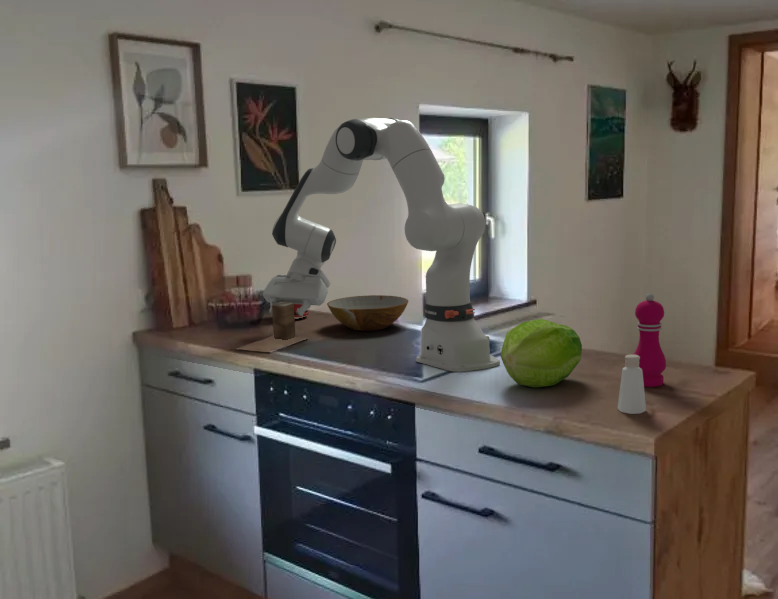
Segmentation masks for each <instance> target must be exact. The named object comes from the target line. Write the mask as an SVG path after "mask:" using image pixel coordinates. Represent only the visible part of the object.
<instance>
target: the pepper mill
mask: <svg viewBox="0 0 778 599" xmlns="http://www.w3.org/2000/svg"><path fill="white" fill-rule="evenodd" d="M634 314H635V315H634V316H635V318H636V319H637V320H638V322H637V324H636V325H637V327H636V328H637V330H638V331H639V339H638V343H637V344H638V345H637V347H636V349H635V351H634V353H633V355H638V356H639V357H640V359H639V367H640V368H641V369H642V372H643V382H644V388H646V387H647V388H654V387H655V388H656V387H657V388H658V387H660V386H662V385H663V384H664V374H662V373H663V372H664V371H665V370H666V367H667V360H666V356H665V354H664V352H663V349H662V347H661V344H660V331H661V330H662V325H663V324H662V323H661V321H662V320H663V318H664V316H665V309H664V306H663V305H662V304H661V302H658V301H656V300H655V296H654V294H653V293H647V294H646V296H645V300H643V301H641V302H639V303H638V304H637V306H636V307H635V310H634Z"/></svg>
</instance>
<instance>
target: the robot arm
mask: <svg viewBox="0 0 778 599" xmlns="http://www.w3.org/2000/svg"><path fill="white" fill-rule="evenodd" d="M385 159H386V160H387V161H388V163H389V165H390V168H391V170H392V171H393V173H394V175H395V177H396V180H397V182H398V184H399V186H400V188H401V189H402V192H403V194H404V197H405V200H406V205H407V211H408V212H407V213H408V214H407V218H406V221H405V223H404V235H405V238H406V241H407V242H408V244H409V245H410V246H411V247H413V248H414V249H416V250H421V251H426V252H435V255H434V259H433V261H432V263H431V265H430V266H429V268H428V269H427V270H426V273H425V294H426V296H425V298H426V302H425V304H424V316H425V317H424V318H426V320H425V322H424V324H423V326H422V327H421V330H420V331H421V332H420V347H419V348H420V350H419V351H420V352H419V355H417V356H416V359H415V361H416V362H417V363H421V364H425V365H428V366H431V367H435V368H438V369H441V370H445V371H449V372H470V371H478V370H484V369H490V368H494V367H496V366H499V365H500V364H501V360H500V359H498V358H496V357H495V356H493V355H492V354H491V350H490V347H491V346H490V340H491V339H490V336H489V335H488V334H485V333H484V332H483V330H482V329H481V327H480V326H479V325H478V323H477V321H476V319H475V318H474V317H475V313H476V312H474V311H475V308H474V307H473V304H472V302H471V301H470V300H471V298H470V296H471V294H470V289H471V288H470V285H471V284H470V283H471V281H470V280H471V278H470V275H471V267H472V262H473V259H474V255H475V251H476V248H477V245H478V242H479V241H480V239H481V238H482V236H483V235H484V234H485V230H486V217H485V216H484V214H483V212H482V211H481V209H479V208H478V207H477V206H474V205H470V204H468V203H462V202H459V203H458V202H457V203H450V204H448V203H447V202H446V200H445V197H444V194H443V186H444V184H445V180H446V179H445V174H444V172H443V170H442V169H441V167H440V164H439V162H438V161H437V158H436V157H435V155H434V153H433V151H432V148H431V147H430V145H429V143H428V142H427V140H426V139H425V138H424V136H423V135H422V133H421V132H420V131H419V129H418V128H417V127H416V125H415V124H414V123H413V122H412V121H409V120H407V119H406V120H404V119H403V120H401V119H399V118H398V119H397V118H393V117H388V118H383V117H365V118H359V119H357V118H353V119H350V120H347V121H344V122H343V123H341V124H340V125H339V126H338V127H337V128H335V130H334V131H333V133H332V135H331V136H330V138H329V140H328V142H327V144H326V147H325V149H324V151H323V154H322V158H321V159H320V162H319V163H318V164H317V165H316V166H315V167H312V168H308V169H307V170H306V171H305V173H303V175H302V177H301V178H300V180H299V182H298V183H297V185H296V186H295V188H294V190H293V193H292V194H291V196H290V198H289V200H288V201H287V203H286V205H285V207H284V209H283V211H282V213H280V215H279V216H278V218H277V219H276V221H274V224H273V227H272V232H271V233H272V234H271V235H272V237H273V239H274V241H275V242H276V244H277V245H279V246H282V247H286V248H290V249H292V250H294V251H297V253H296V257H295V258H294V260H293V261H292V263H291V265H290V267H289V270H288V272H287V274H285V275H282V274H277V275H276V276H274V277H272V278H271V279H270V281H269V282H268V284H267V285H266V287H265V288H264V290H263V292H262V296H263V298H264V299H265V301H266V302H267V303H269V304H270V308H269V311H268V312H269V314H270V315H272V304H275V303H279V302H291V303H293V304H302V306H301V307H300V308H297V311H296V315H297V316H303V314H304V312H305V311H306V310H308V311H309V309H310V308H311V306H321V305H323V304H324V303H325V301H326V298H327V296H328V292H329V287H330V285H331V282H330V280H329V278H328V276H327V275H326V274H325V273H324V271H323V270H321V269H322V267H323V265H324V264H325V262H327V261H329V260H330V258H331V255H332V253H333V251H334V249H335V246H336V243H337V238H336V236H335V233H334V231H333V229H331V228H330V227H327V226H325V225H323V224H319V223H316V222H314V221H312V220H309V219H307V218H304V217H302V216H300V215H299V211H300V210H301V207H302V206H303V204H304V202H305V200H306V199H307V197H309V196H311V195H318V194H319V195H322V194H323V195H337V194H342V193H344V192H345V193H346V192H347V191H350V189H351V188H352V187H354V185H355V183H356V181H357V179H358V176H359V174H360V172H361V168H362V166H363V162H364V161H381V160H385Z"/></svg>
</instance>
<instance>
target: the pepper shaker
mask: <svg viewBox="0 0 778 599" xmlns="http://www.w3.org/2000/svg"><path fill="white" fill-rule="evenodd" d="M639 359H640V357H639V356H638V355H634V354H626V355H625V356H624V360H625V361H624V362H625V363H624V364H625V366H624V367H622V369H621V370H622V371H621V376H620V384H619V385H620V387H619V393H618V400H617V410H619V411H620V413H624V414H628V415H637V414H639V415H640V414H642V413H644V412H646V411H647V406H646V394H645V387H644V382H643V372H642V369H641V368H640V367H639Z"/></svg>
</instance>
